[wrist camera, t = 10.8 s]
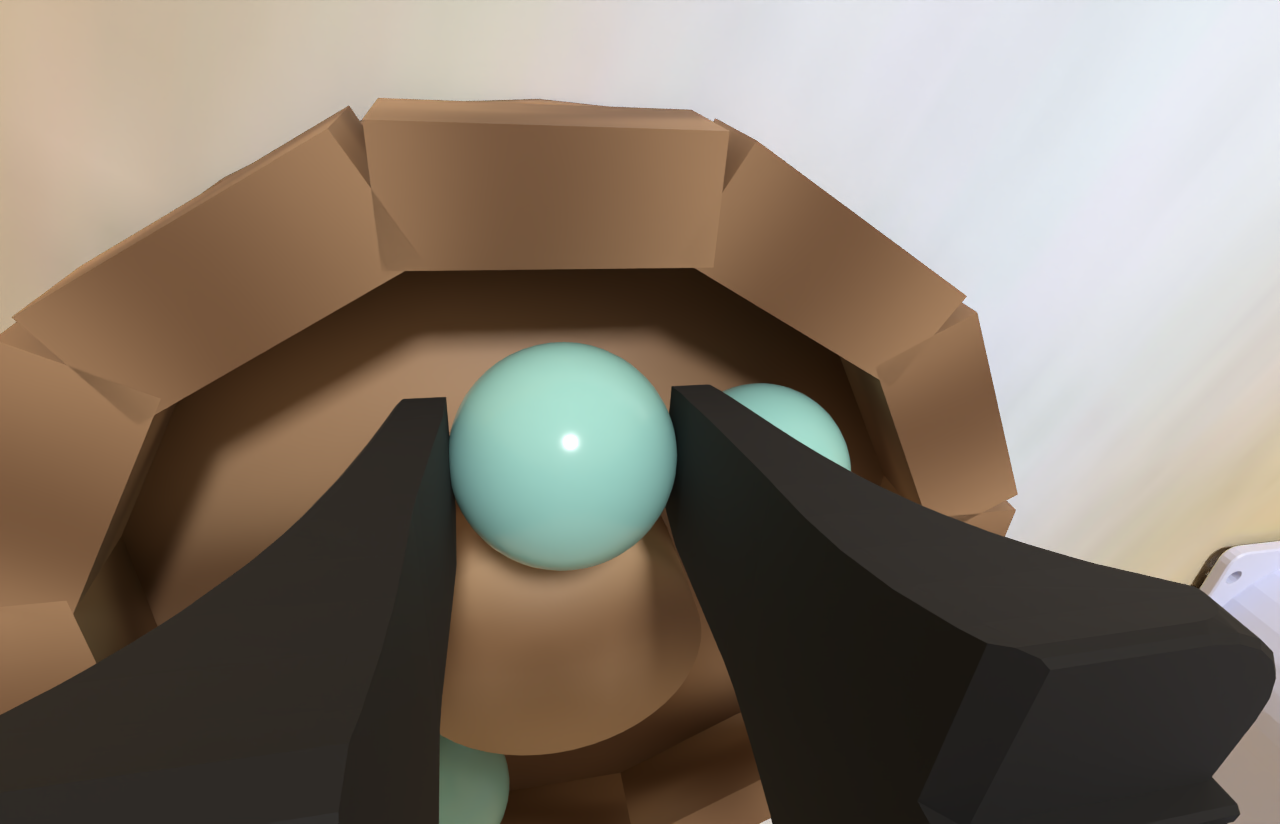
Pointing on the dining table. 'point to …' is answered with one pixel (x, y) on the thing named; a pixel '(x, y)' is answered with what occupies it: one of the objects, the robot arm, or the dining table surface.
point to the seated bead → (471, 785)
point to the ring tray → (448, 367)
